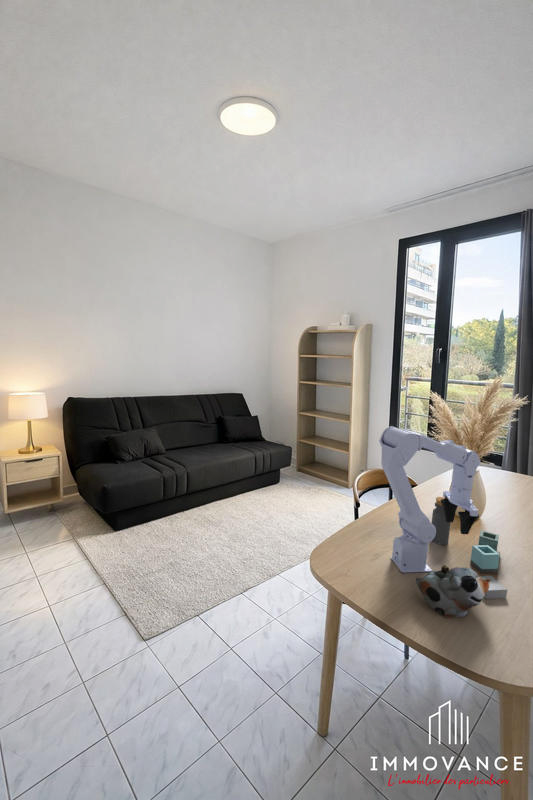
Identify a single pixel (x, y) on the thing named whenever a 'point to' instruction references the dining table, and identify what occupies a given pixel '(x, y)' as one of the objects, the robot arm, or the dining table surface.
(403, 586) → the dining table surface
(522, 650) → the dining table surface
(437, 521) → the bottle
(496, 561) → the sleeve
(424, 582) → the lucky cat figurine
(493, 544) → the peg board
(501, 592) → the block
